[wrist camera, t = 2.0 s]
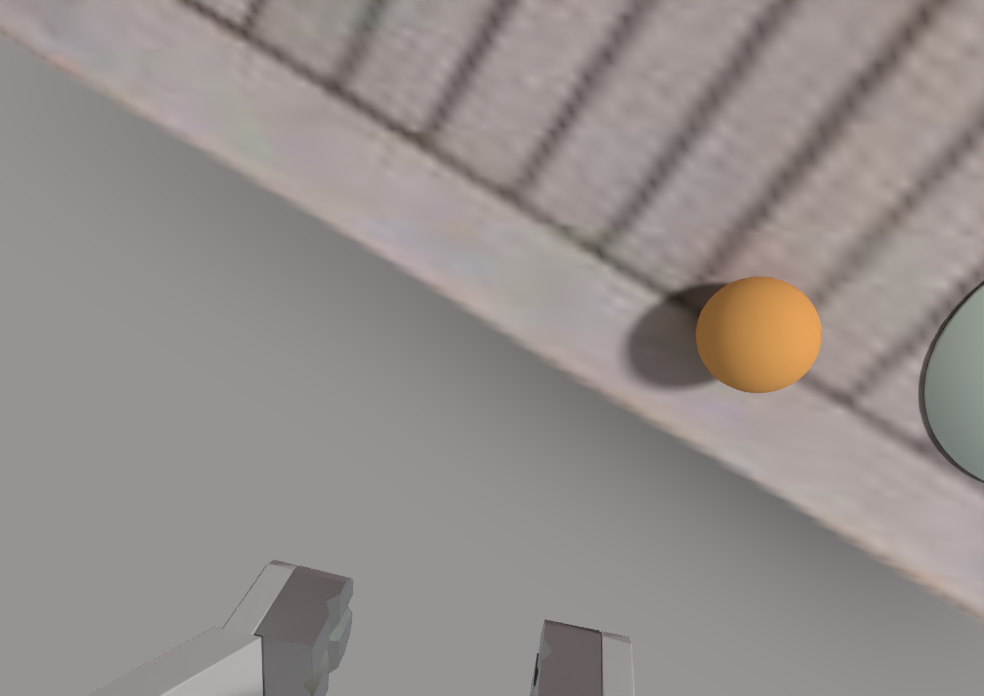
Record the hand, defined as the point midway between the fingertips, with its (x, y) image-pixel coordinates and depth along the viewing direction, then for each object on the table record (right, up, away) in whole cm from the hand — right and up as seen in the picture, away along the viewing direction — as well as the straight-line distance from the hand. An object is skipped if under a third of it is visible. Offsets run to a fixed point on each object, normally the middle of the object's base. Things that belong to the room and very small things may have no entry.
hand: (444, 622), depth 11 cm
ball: (+12, +5, +16) cm, 21 cm away
